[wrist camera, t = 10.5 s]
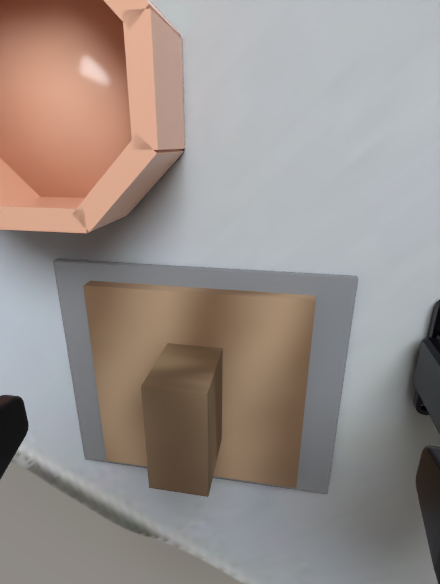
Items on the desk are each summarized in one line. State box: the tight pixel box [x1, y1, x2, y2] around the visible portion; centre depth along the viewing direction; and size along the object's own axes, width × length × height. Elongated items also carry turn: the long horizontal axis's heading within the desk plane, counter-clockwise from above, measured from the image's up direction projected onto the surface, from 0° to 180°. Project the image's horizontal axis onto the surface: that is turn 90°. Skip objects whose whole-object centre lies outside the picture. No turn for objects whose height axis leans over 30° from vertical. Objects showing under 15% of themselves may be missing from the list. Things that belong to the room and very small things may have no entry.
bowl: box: [0, 0, 185, 233], centre depth 16 cm, size 11×11×4 cm
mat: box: [53, 259, 358, 494], centre depth 22 cm, size 16×14×1 cm
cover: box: [83, 281, 316, 497], centre depth 20 cm, size 12×12×5 cm
